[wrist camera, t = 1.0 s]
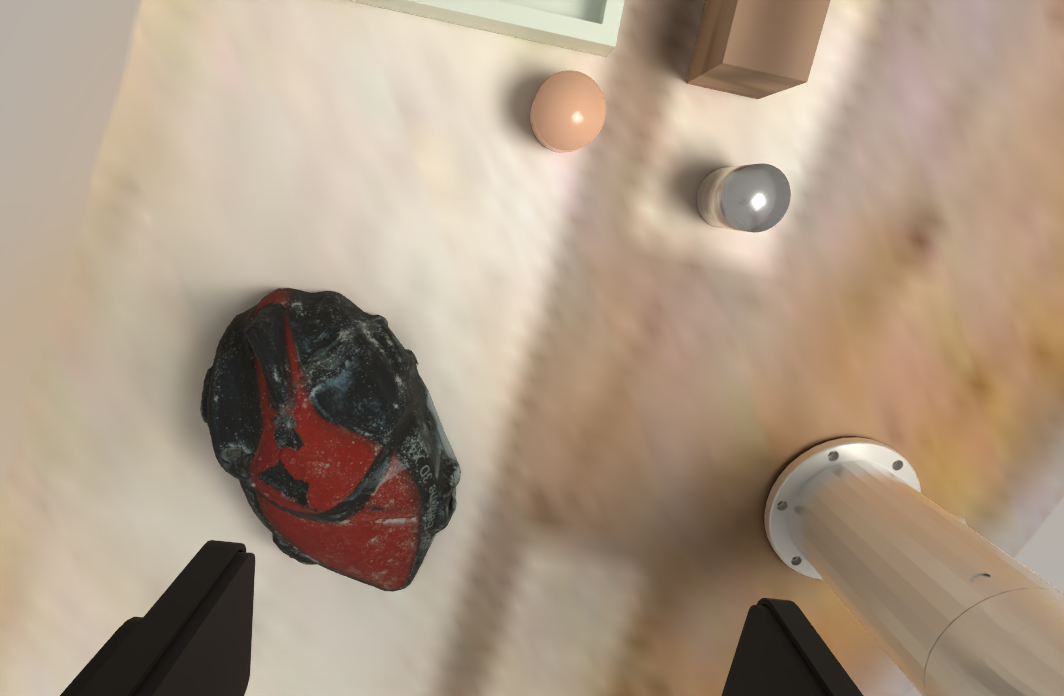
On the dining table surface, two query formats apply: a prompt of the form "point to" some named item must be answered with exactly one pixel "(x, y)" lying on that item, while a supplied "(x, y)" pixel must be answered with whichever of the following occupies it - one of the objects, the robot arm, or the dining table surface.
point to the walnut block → (756, 45)
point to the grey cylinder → (744, 197)
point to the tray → (527, 19)
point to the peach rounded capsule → (567, 111)
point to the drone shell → (331, 436)
